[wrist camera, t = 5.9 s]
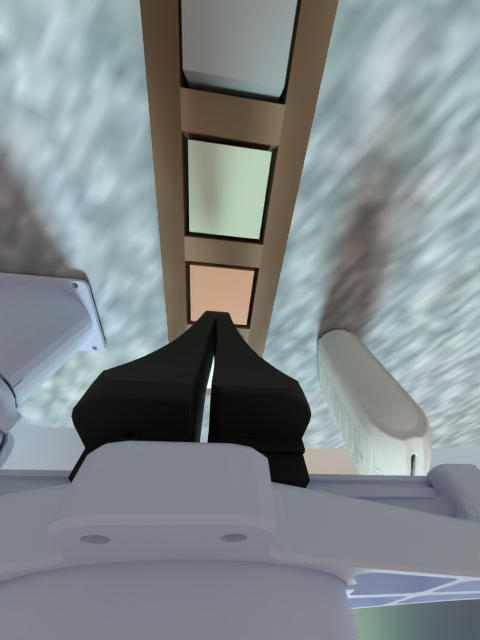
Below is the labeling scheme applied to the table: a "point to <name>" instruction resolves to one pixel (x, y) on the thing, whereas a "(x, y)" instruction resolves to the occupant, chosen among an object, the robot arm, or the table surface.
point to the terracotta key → (220, 290)
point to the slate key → (237, 46)
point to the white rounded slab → (372, 409)
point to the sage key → (226, 189)
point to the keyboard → (234, 130)
